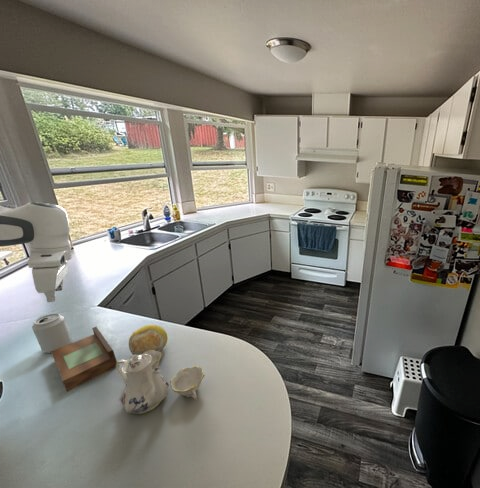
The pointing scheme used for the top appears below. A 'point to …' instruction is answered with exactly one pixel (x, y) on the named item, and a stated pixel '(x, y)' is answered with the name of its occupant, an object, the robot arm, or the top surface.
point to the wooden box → (84, 359)
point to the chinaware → (153, 382)
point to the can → (51, 332)
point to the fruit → (147, 339)
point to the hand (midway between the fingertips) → (55, 295)
